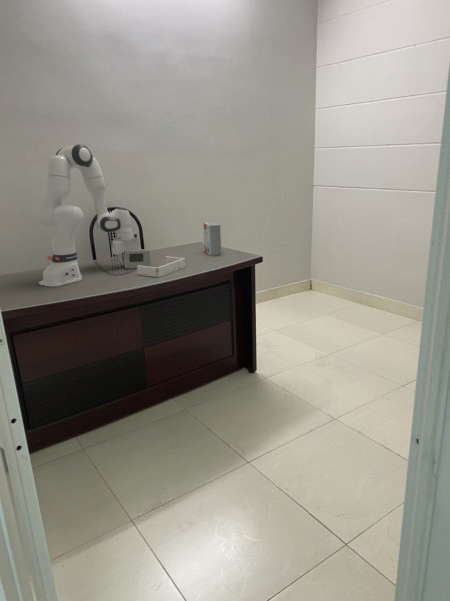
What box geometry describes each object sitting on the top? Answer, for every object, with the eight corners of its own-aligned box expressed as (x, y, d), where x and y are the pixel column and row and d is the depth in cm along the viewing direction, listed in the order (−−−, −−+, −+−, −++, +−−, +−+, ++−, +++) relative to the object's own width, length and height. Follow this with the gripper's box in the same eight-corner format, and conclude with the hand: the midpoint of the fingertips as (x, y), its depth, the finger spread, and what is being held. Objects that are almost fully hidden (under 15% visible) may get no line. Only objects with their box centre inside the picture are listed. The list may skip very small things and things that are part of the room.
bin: (158, 277, 227) (157, 268, 225) (137, 274, 234) (137, 265, 232) (186, 266, 249) (185, 258, 247) (166, 264, 255) (166, 256, 254)
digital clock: (123, 269, 246) (121, 251, 243) (128, 265, 255) (126, 248, 251) (150, 269, 244) (149, 251, 241) (154, 265, 253) (153, 248, 249)
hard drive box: (204, 251, 289) (203, 222, 283) (215, 250, 291) (214, 221, 285) (210, 256, 275) (209, 225, 269) (221, 255, 277) (220, 224, 271)
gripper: (116, 239, 238) (118, 263, 242) (140, 233, 255) (142, 256, 259) (107, 238, 241) (110, 262, 245) (132, 233, 258) (134, 255, 262)
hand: (126, 259), depth 252 cm, fingers open, 8 cm apart
